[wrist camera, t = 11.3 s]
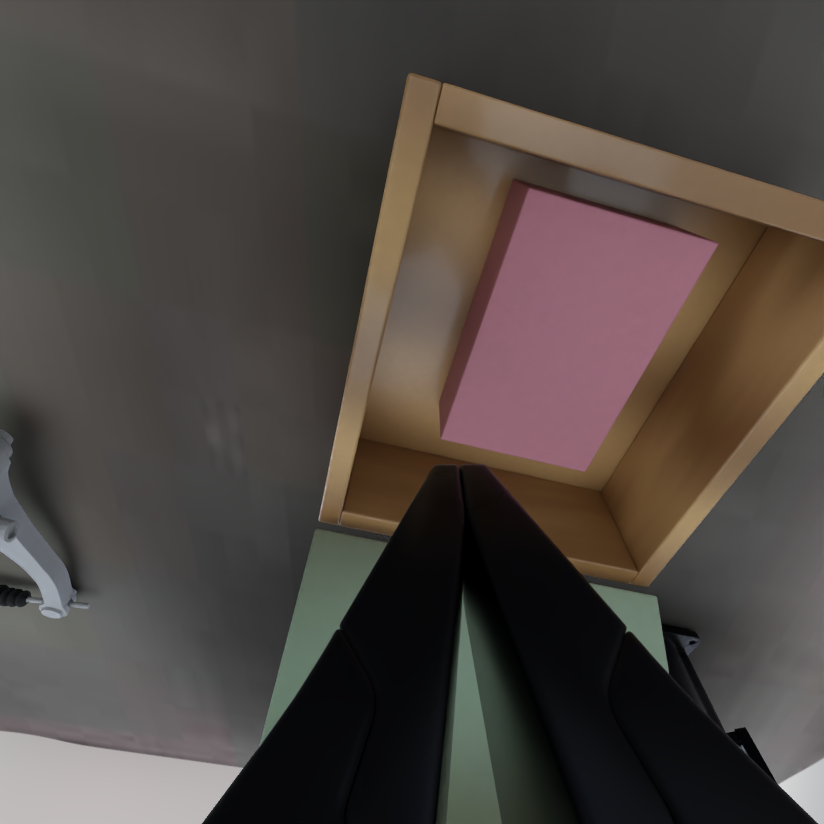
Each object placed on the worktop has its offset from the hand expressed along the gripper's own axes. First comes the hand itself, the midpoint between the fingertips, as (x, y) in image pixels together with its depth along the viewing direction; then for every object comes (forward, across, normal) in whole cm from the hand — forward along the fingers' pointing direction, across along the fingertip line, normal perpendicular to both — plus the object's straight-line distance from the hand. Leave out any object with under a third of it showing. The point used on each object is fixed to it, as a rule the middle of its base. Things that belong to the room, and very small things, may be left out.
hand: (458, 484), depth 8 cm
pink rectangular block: (+11, -4, +2) cm, 12 cm away
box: (+12, -4, +3) cm, 13 cm away
